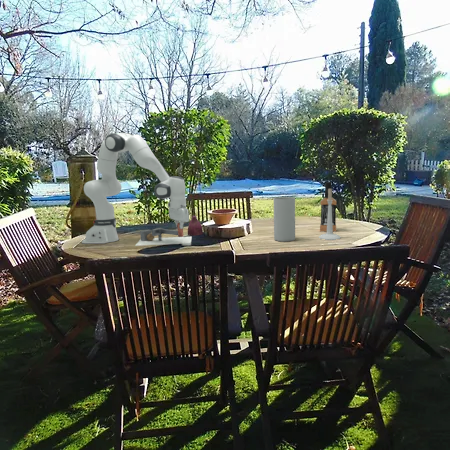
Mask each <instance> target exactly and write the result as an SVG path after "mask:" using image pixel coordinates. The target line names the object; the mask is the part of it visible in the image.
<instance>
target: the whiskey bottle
mask: <svg viewBox="0 0 450 450" xmlns="http://www.w3.org/2000/svg"><path fill="white" fill-rule="evenodd" d="M328 189H332V182H331V181H327V182H325V190H324V191H325V192H324V198H322V199H321V200H320V225H319V232H321V231H327V218H328V201H327V200H328ZM332 200H333V201H332V204H331V206H332V227H333V231H336V232H337V222H336V221H337V220H336V218H337V217H336V216H337V215H336V212H337V210H336V209H337V208H336V207H337V200H336V199H335V198H334V197H332Z"/></svg>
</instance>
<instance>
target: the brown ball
mask: <svg viewBox="0 0 450 450" xmlns="http://www.w3.org/2000/svg"><path fill="white" fill-rule="evenodd" d="M154 238H155V236H152V232H151V233H150V234H148V235H147V239H148V240H149V241H152V240H153V239H154Z"/></svg>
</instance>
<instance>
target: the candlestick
mask: <svg viewBox="0 0 450 450" xmlns="http://www.w3.org/2000/svg"><path fill="white" fill-rule="evenodd" d="M332 189H333V188H331V189H328V200H327V201H328V218H327V232H326V233H323V234H320V235H319V236H318V239H319V238H320V240H322V239H325V240H324V241H337V240H336V239H339V240H341V239H342V238H341V236H340V235H339V234H336V233H334V232H333V227H332V206H331V204H332V201H333V200H332V198H333V190H332ZM340 238H341V239H340Z"/></svg>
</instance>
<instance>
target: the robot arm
mask: <svg viewBox="0 0 450 450" xmlns="http://www.w3.org/2000/svg"><path fill="white" fill-rule="evenodd" d="M124 152H129V153H130V154H131V155H132V158H133V159H134V161H135V162H136V164H137V165H139V167H141V168H143V169H146V170H149V171H151V172H152V173H154V175H156V177H157V178H158V180H159V181H160V182H159V183H157V184H156V185H154V188H153V191H154V194H155V196H156V197H157V198H158V199H161V200H165V199H170V201H169V202H168V203H167V207H168V215H169V219H171V220H174V223H175V227H176V228H177V229H178V223H180V226H179V228H180V229H183V230H184V224H185V223H190V215H189V214H190V213H189V209H188V208H187V198H186V183H185V180H184V178H183V177H181V176H176V175H173V176H172V175H171V176H170V175H169V173H168V172H167V170H166V169H165V167H164V166H163V165H162V163H161V162H160V161H159V159H158V158H157V157H156V156H155V154H154V153H153V151H152V150H151V148H150V147H149V144H148V143H147V142H146V141H145V139H144V138H143V137H142V136H141V135H140V134H133V133H129V132H119V133H109V134H108V135H106V137H105V139H104V140H103V141H102V143H101V145H100V148H99V151H98V157H97V164H96V170H97V172H98V173H100V174H101V179H93V180H89V181H87V182H85V183H84V185H83V191H84V192H83V193H84V195H85V196H86V197H88V198H89V199H90V200H91V202H93V205H94V209H95V210H94V211H95V217H96V219H94V220H93V222H92V223H93V226H91V227H90V228H89V229H88V230H87V231H86V232H85V237H84V239H83V240H82V241H81V244H107V243H113V242H117V241H119V240H120V239H119V235H118V232H117V221H116V218H115V217H116V216H115V208H114V207H115V206H114V205H113V204H112V203H110V202H109V200H108V198H107V197H112V196H113V197H114V196H116V195H118V194H120V193H121V191H122V183H121V182H120V181H119V180H118V177H117V173H116V171H117V170H116V169H117V161H118V155H119V153H124Z"/></svg>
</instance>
